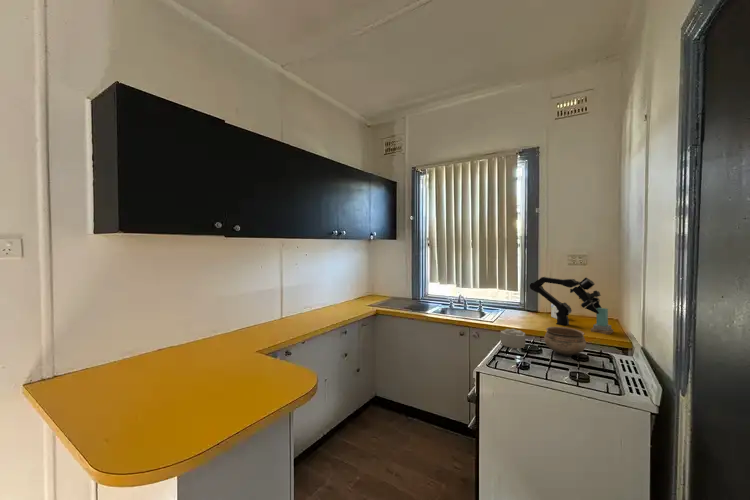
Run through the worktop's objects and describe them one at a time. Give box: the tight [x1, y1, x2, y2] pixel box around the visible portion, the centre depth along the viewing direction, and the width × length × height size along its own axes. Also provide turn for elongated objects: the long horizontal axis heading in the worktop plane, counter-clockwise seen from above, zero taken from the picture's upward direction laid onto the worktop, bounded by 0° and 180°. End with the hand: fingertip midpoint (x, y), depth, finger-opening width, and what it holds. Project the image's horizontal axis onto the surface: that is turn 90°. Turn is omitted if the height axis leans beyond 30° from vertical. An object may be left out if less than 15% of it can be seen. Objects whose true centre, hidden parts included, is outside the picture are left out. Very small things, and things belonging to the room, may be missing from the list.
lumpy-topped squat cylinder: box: [500, 328, 526, 350], centre depth 180 cm, size 10×13×9 cm
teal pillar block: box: [595, 307, 609, 326], centre depth 206 cm, size 5×5×11 cm
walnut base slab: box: [590, 327, 614, 335], centre depth 206 cm, size 10×10×2 cm
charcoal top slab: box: [592, 322, 612, 331], centre depth 206 cm, size 8×8×2 cm
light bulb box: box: [550, 303, 559, 320], centre depth 244 cm, size 11×7×11 cm, turn 179°
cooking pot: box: [543, 326, 587, 357], centre depth 165 cm, size 25×19×12 cm
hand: (600, 312), depth 207 cm, fingers open, 9 cm apart
